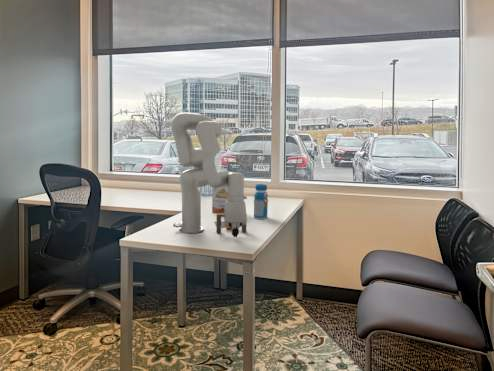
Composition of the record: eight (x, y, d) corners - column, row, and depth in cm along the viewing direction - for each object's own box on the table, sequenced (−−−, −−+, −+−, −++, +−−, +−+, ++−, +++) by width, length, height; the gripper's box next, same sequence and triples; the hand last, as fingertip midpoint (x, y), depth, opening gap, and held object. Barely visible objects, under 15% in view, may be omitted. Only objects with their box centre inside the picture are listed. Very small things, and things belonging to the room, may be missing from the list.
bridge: (217, 233, 195) (217, 214, 194) (216, 232, 198) (216, 213, 197) (246, 232, 198) (246, 214, 197) (245, 231, 201) (245, 212, 200)
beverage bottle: (255, 219, 227) (255, 185, 225) (252, 216, 236) (252, 183, 233) (269, 219, 229) (270, 185, 226) (265, 216, 237) (266, 183, 234)
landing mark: (216, 227, 207) (216, 227, 207) (214, 221, 220) (214, 221, 220) (240, 226, 210) (240, 226, 209) (236, 221, 222) (236, 221, 222)
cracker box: (211, 212, 244) (212, 179, 241) (214, 210, 250) (214, 178, 247) (233, 213, 242) (234, 180, 239) (235, 211, 248) (235, 179, 245)
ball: (224, 219, 201) (223, 215, 207) (224, 230, 203) (223, 225, 209) (236, 219, 202) (234, 215, 208) (235, 230, 204) (234, 226, 210)
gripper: (249, 197, 188) (249, 233, 190) (219, 197, 185) (218, 234, 188) (252, 199, 180) (252, 238, 183) (220, 200, 178) (220, 239, 180)
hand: (235, 236), depth 185 cm, fingers closed
